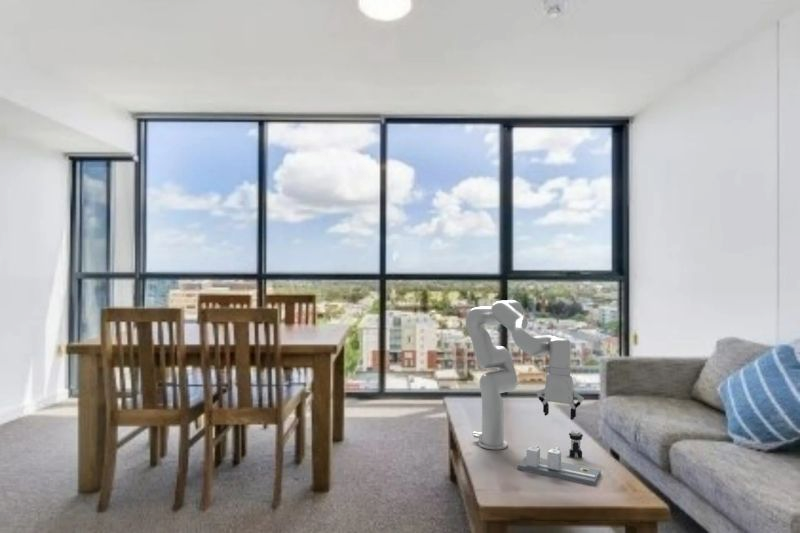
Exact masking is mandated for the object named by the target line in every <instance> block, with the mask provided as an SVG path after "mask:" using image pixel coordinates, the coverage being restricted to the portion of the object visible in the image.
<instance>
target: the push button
mask: <svg viewBox="0 0 800 533" xmlns="http://www.w3.org/2000/svg"><path fill="white" fill-rule="evenodd" d="M568 435H569V439H570V448H569V449H568V451H565V454H564V455H565V456H569V457H570V458H576V459H577V458H580V459H581V458H583V451H582V448H581V441H582V440H583V437H584V436H583V434H582V433H581V432H580V431H579V430H572V431H570V432H569V433H568Z"/></svg>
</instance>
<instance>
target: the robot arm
mask: <svg viewBox="0 0 800 533" xmlns="http://www.w3.org/2000/svg"><path fill="white" fill-rule="evenodd" d="M523 308H524V307H523V305H522V304H521V303H520V302H519V301H517V300H511V299H510V300H498V301H496V302H494V303H493V304H492V305H490V306H488V305H487V306H476V307H473V308H471V309H470V310H469V311H467V313H466V316H465V327H466V330H467V333H468V334H469V337H470V340H471V343H472V347H473V350H474V354H475V357H476V361H477V364H478V366H479V368H480V369H483V370H490V369H497V370H493V371H488V372H485V373H483V374H482V375H481V376H480V378H479V387H480V394H481V432H477V431H473V433H472V435H473V438H476V439H477V445H478V446H479V447H481V448H483V449H487V450H493V451H495V450H503V449H506V448H507V447H508V442H507V441H506V440H505V437H504V436H505V403H504V399H503V398H502V396H501V394H503V393H507V392H512V391H514V390H515V389H517V387H518V376H517V373H516V369H515V366H514V362H513V358H512V356H511V353H510V351H509V350H508V349H507V348H506V347H505V346H502V345H494V343H493V342H492V338H491V335H490V333H489V331H487V329H485V327H486V326H498V325H502V326H503V327H505V328H506V329H507V331H510V332H511V337H512V339H513V342H514V344H515V345H516V346H517V347H518V349H520V350H521V351H523V353H525V354H526V355H528V356H530V357H539V356H547V355H549V358H548V359H549V362H548V363H549V364H548V366H545V371H548V373H547V374H546V378H545V382H544V383H545V384H544V385H545V387H544V388H543V389H540V390H537V391H536V393H535V394H536V396H537V397H538V400H539V401H540V402H541V403H542V405H543V406H542V408H543V409H542V411H543V414H544V416H548V415H549V410H550V408H549V406H550V405H549V403H548V402H552V403H560V404H565V405H567V404H569V406H570V420H571V421H572V420H574V419H575V418H577V409H578V407H579V406H581V404H582V403H583V401H584V399H585V398H584V396H582V395H580V394H579V393H577V392H575V388H574V380H573V375H572V374H571V341H570V340H569V339H568V338H565V337H557V336H554V335H551V334H544V335H543V334H542V335H535V336H533V335H531V334H530V333H529V332H527V331H526V328H527V327H528V324H529V323H528V322H529V321H528V318H527V317H526V316H525V315H523V314H524V309H523ZM484 326H485V327H484ZM542 394H544V397H543V395H542ZM575 398H576V399H577V400H578V401H576V402H575V401H574V400H575Z"/></svg>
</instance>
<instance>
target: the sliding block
mask: <svg viewBox="0 0 800 533" xmlns="http://www.w3.org/2000/svg"><path fill="white" fill-rule="evenodd" d="M547 459H548V468H550V469H555V470H559V469H560V467H561V462H562V450H560V447H559V446H556V447H555V448H550V449H548V451H547Z"/></svg>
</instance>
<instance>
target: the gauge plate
mask: <svg viewBox="0 0 800 533" xmlns="http://www.w3.org/2000/svg"><path fill="white" fill-rule="evenodd" d="M520 469H521V471H525V472H529V473H530V472H531V473H535V474H539V475H544V476H549V477H553V478H559V479H562V480H563V479H564V480H568V481H571V482H577V483H581V484H584V485H585V484H586V485H591V486H596V483H597V482H598V480H599V477H600V476H601V474H602V473H601V469H599V468H592V467H588V466H583V465H577V464H574V463H573V464H572V463H568V462H563V461H561V467H560V469H559V470H555V469H550V468H548V458H543V457H541V448H540V446H539V445H537V444H535V445H534V446H529V447H527V449H526V455H525V457H524V458H522V460H521V461H520V462H519V463H518V464H517V470H520Z"/></svg>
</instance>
